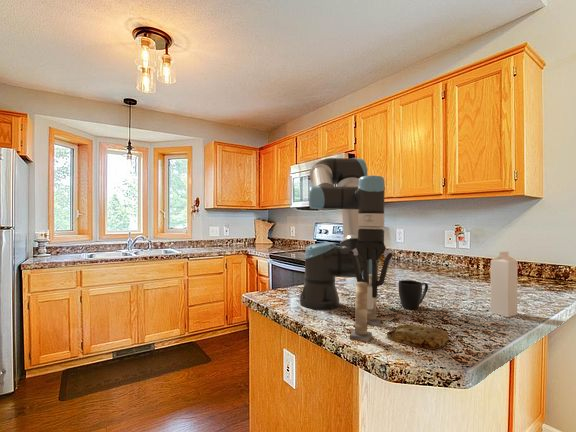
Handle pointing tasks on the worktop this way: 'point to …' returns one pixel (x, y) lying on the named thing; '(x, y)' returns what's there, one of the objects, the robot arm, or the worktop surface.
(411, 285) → the mug
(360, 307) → the post
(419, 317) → the worktop surface
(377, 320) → the post
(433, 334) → the pastry
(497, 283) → the milk
